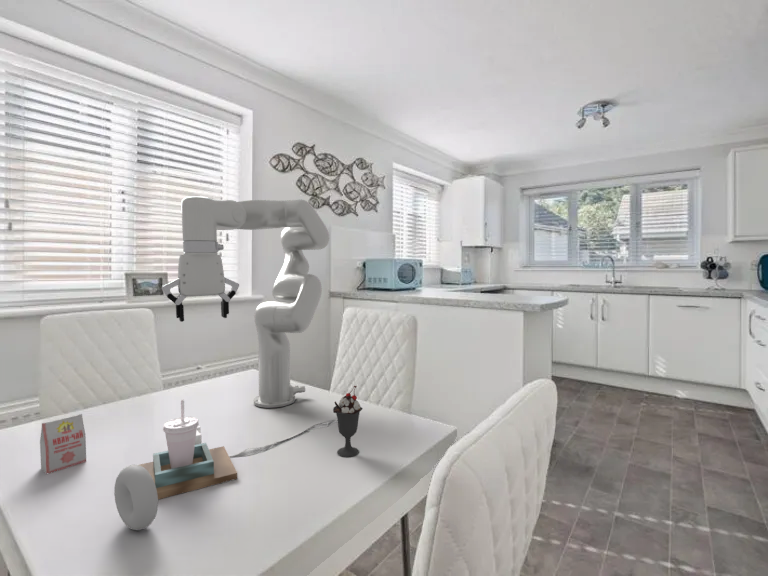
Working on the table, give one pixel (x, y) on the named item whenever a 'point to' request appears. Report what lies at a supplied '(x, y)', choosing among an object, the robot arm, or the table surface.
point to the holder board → (191, 471)
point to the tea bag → (62, 443)
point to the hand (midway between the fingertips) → (203, 319)
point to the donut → (136, 497)
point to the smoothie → (181, 439)
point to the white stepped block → (198, 436)
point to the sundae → (347, 422)
